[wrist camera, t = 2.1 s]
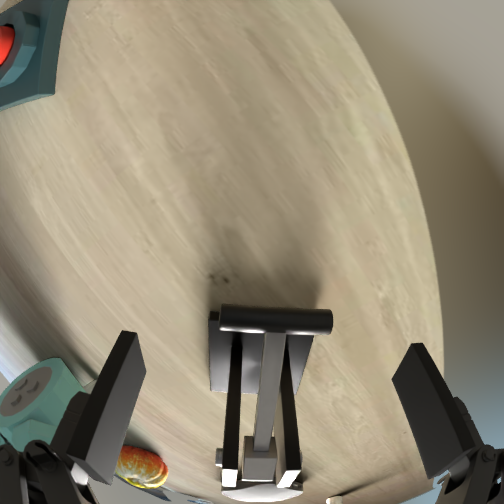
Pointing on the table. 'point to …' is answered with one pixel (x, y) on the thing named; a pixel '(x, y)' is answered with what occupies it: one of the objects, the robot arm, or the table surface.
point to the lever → (269, 371)
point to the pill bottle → (335, 500)
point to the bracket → (247, 381)
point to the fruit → (141, 467)
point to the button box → (31, 51)
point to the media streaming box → (261, 491)
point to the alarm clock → (37, 403)
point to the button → (6, 42)
